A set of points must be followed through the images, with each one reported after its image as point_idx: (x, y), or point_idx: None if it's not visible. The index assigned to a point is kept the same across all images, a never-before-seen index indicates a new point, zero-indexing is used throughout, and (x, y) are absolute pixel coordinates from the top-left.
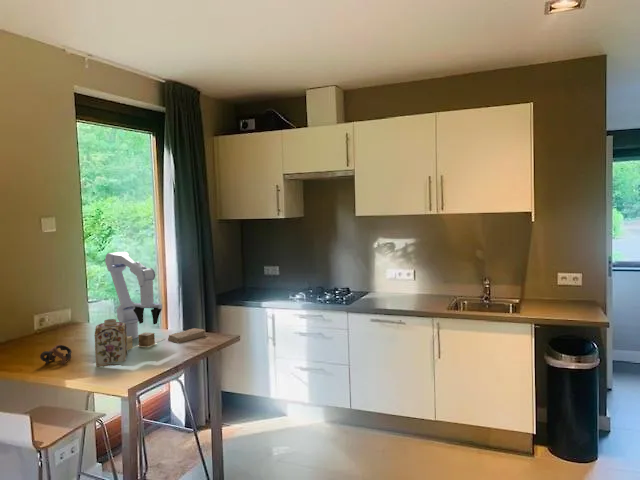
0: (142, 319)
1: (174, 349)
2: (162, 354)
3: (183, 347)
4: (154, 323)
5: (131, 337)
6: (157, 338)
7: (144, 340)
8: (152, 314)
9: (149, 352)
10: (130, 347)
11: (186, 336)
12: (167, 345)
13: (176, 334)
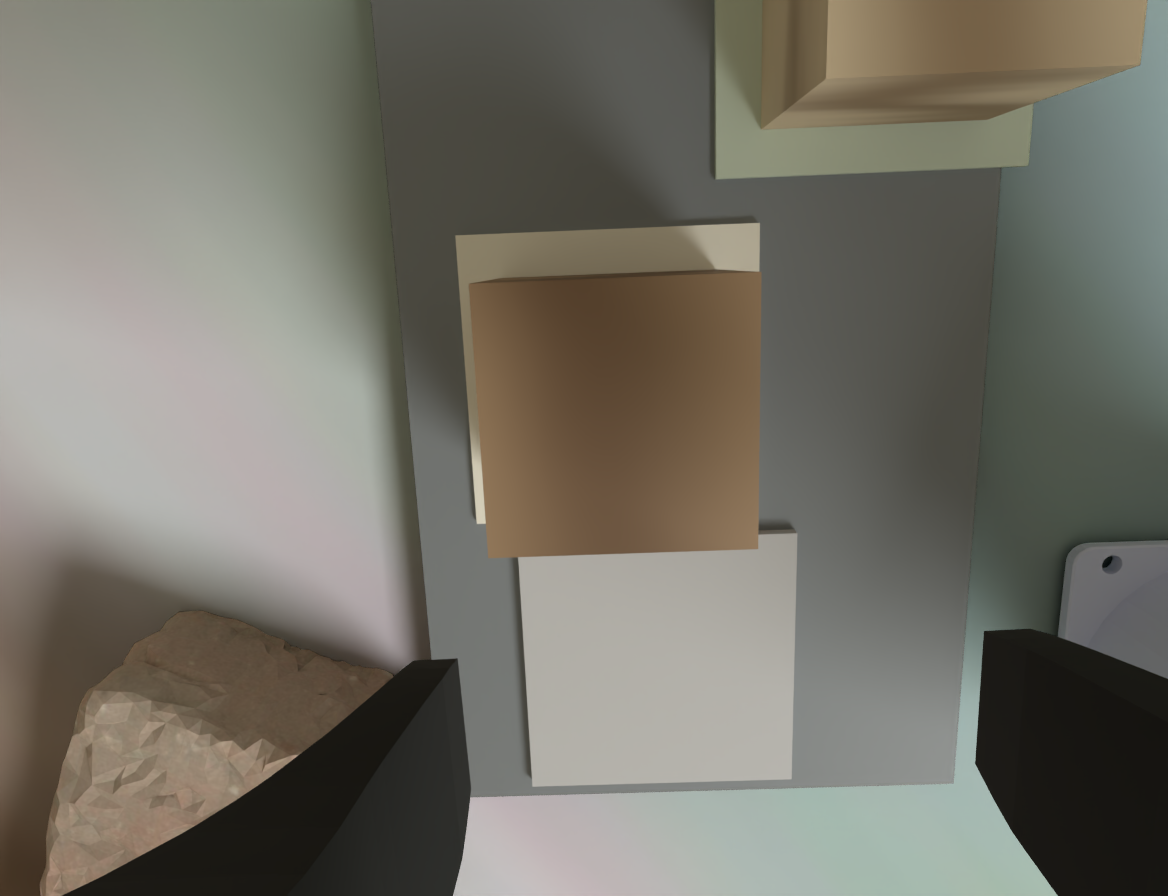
0: (1042, 822)
1: (71, 419)
2: (37, 83)
3: (18, 561)
4: (403, 670)
5: (819, 44)
6: (681, 762)
7: (576, 277)
8: (281, 865)
9: (356, 122)
10: (764, 49)
11: (47, 835)
12: (357, 586)
13: None
